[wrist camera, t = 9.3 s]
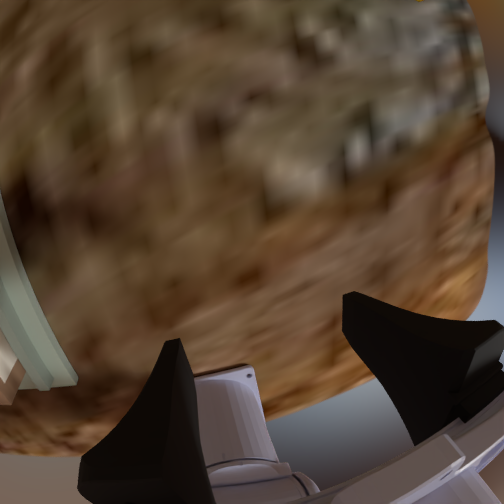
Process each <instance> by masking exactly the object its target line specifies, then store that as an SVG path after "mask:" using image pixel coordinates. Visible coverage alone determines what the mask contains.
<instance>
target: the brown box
mask: <svg viewBox="0 0 504 504" xmlns="http://www.w3.org/2000/svg"><path fill="white" fill-rule="evenodd" d="M25 373H26V370H25V369H24V367H23V366H22V364H21V362H20V361H19V359H18V358H17V356H16V354H15V353H14V351H13V349H12V348H11V346H10V344H9V342H8V341H7V339H6V337H5V335H4V333H3V332H2V330H1V328H0V405H12V403H13V400H14V398H15V395H16V393H17V391H18V389H19V386H20V384H21V382H22V380H23V377H24V375H25Z"/></svg>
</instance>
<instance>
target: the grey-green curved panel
mask: <svg viewBox="0 0 504 504" xmlns="http://www.w3.org/2000/svg"><path fill="white" fill-rule="evenodd" d="M0 328H1V330H2V332H3V333H4V335H5V337H6V339H7V341H8V342H9V344H10V346H11V348H12V349H13V351H14V353H15V354H16V356H17V358H18V359H19V361H20V362H21V364H22V366H23V367H24V369H25V370H26V373H25V375H24V377H23V380H22V382H21V384H20V386H19V389H37V388H38V389H39V391H48V390H50V388H51V387H63V386H73V385H77V382H78V378H79V377H78V376H77V374H76V372H75V371H74V369H73V368H72V366H71V364H70V363H69V361H68V359H67V357H66V356H65V354H64V352H63V350H62V349H61V347H60V345H59V343H58V341H57V339H56V338H55V336H54V334H53V332H52V330H51V328H50V326H49V324H48V322H47V320H46V318H45V316H44V314H43V312H42V310H41V307H40V305H39V303H38V301H37V299H36V296H35V294H34V292H33V289H32V287H31V285H30V282H29V280H28V277H27V275H26V272H25V270H24V267H23V264H22V262H21V259H20V256H19V253H18V251H17V248H16V245H15V242H14V239H13V235H12V232H11V229H10V226H9V222H8V219H7V215H6V212H5V208H4V204H3V200H2V196H1V192H0Z"/></svg>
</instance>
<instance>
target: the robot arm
mask: <svg viewBox="0 0 504 504" xmlns="http://www.w3.org/2000/svg"><path fill="white" fill-rule="evenodd" d="M342 332H343V333H344V335H345V337H346V339H347V340H348V342H349V344H350V345H351V347H352V348H353V350H354V351H355V352H356V353H357V355H358V356H359V357H360V358H361V360H362V361H363V362H364V363H365V364H366V366H367V367H368V368H369V369H370V370H371V372H372V373H373V374H374V375H375V376H376V378H377V379H378V380H379V382H380V383H381V384H382V386H383V387H384V389H385V390H386V392H387V394H388V395H389V397H390V398H391V400H392V402H393V404H394V405H395V407H396V409H397V410H398V412H399V414H400V416H401V418H402V420H403V422H404V424H405V426H406V428H407V430H408V432H409V434H410V437H411V439H412V441H413V444H414V446H415V447H413V448H412V449H410V450H408V451H406V452H405V453H403V454H401V455H399V456H397V457H396V458H394V459H392V460H390V461H388V462H386V463H384V464H382V465H380V466H378V467H377V468H374V469H372V470H370V471H368V472H366V473H364V474H362V475H360V476H357V477H355V478H353V479H351V480H349V481H346V482H343V483H341V484H339V485H336V486H334V487H331V488H328V489H326V490H323V491H320V490H319V489H318V487H317V485H316V484H315V483H314V482H313V481H312V480H311V479H310V478H308V477H307V476H306V475H305V474H303V473H301V472H294V473H292V472H291V469H290V467H289V464H288V463H287V462H286V463H279V460H278V457H277V455H276V452H275V450H274V447H273V444H272V442H271V439H270V436H269V433H268V431H267V428H266V425H265V424H266V423H265V419H264V414H263V410H262V405H261V401H260V396H259V391H258V387H257V382H256V378H255V373H254V369H253V367H252V366H251V365H246V366H242V367H239V368H235V369H231V370H226V371H222V372H218V373H214V374H209V375H205V376H200V377H196V378H194V376H193V372H192V370H191V367H190V364H189V362H188V359H187V356H186V354H185V351H184V348H183V345H182V343H181V340H180V338H178V339H173V340H168V341H165V343H164V345H163V348H162V350H161V353H160V355H159V357H158V360H157V362H156V364H155V366H154V368H153V371H152V373H151V375H150V377H149V379H148V381H147V382H146V384H145V386H144V388H143V390H142V392H141V393H140V395H139V396H138V398H137V400H136V401H135V403H134V404H133V406H132V407H131V408H130V410H129V411H128V412H127V414H126V415H125V416H124V417H123V418H122V420H121V421H120V422H119V423H118V424H117V426H116V427H115V428H114V429H113V430H112V431H111V432H110V433H109V434H108V435H107V436H106V437H105V438H104V439H102V440H101V441H100V442H99V443H98V444H97V445H95V446H94V447H93V448H92V449H90V450H89V451H88V452H87V453H85V454H84V455H83V456H82V457H81V462H80V467H79V477H78V486H77V489H78V491H79V493H80V494H81V495H82V496H83V497H84V498H86V499H87V500H88V501H90V502H91V503H93V504H502V503H501V502H500V501H499V500H498V498H497V497H496V496H495V494H494V493H493V492H492V491H491V489H490V488H489V487H488V486H487V484H486V483H485V482H484V480H483V479H482V478H481V477H480V475H479V474H478V473H479V472H480V471H481V470H482V469H483V468H484V467H485V466H486V465H487V464H488V463H490V462H491V461H492V460H493V459H494V458H495V457H496V456H497V455H498V454H499V453H500V452H501V451H502V449H504V372H503V371H502V370H501V369H502V368H503V364H502V363H500V362H499V359H500V357H501V354H502V352H503V350H504V326H503V325H501V324H500V323H499V322H497V321H496V320H486V321H459V320H449V319H441V318H435V317H430V316H426V315H421V314H418V313H414V312H411V311H408V310H404V309H401V308H398V307H396V306H393V305H390V304H387V303H385V302H382V301H380V300H377V299H375V298H372V297H369V296H367V295H364V294H361V293H359V292H355V291H353V292H350V293H347V294H344V295H343V313H342ZM247 374H250V375H247Z"/></svg>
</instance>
